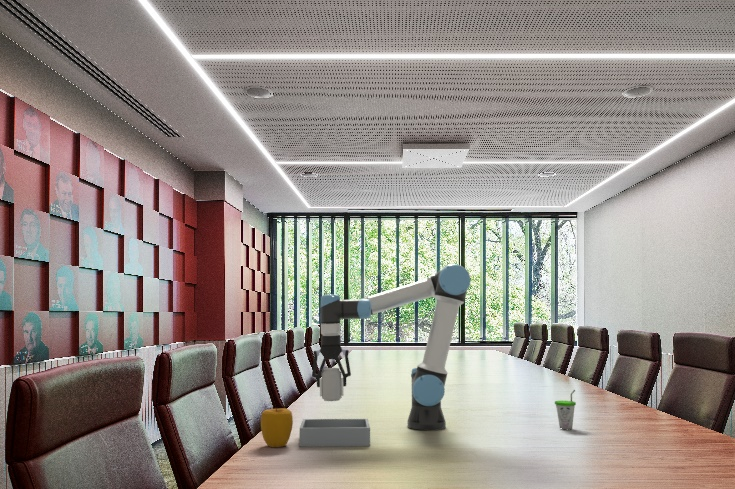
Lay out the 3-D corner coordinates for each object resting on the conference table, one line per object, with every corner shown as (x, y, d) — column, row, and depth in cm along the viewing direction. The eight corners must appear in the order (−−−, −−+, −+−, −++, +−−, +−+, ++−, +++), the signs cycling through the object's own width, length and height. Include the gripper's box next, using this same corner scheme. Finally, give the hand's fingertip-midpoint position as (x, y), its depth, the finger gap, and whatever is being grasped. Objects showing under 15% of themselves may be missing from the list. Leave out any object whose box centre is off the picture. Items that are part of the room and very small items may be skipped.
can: (339, 401, 230) (338, 369, 231) (319, 401, 231) (319, 369, 233) (343, 398, 237) (343, 367, 238) (325, 398, 238) (324, 367, 240)
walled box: (367, 435, 227) (367, 418, 228) (370, 445, 210) (370, 427, 210) (302, 435, 226) (302, 419, 227) (299, 446, 209) (299, 428, 209)
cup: (554, 429, 238) (553, 390, 240) (556, 426, 246) (555, 388, 247) (575, 431, 236) (574, 391, 237) (577, 427, 243) (575, 389, 244)
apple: (280, 441, 217) (280, 403, 219) (299, 445, 210) (299, 407, 211) (253, 445, 210) (254, 407, 211) (272, 450, 202) (273, 410, 203)
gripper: (356, 333, 241) (358, 393, 238) (304, 335, 240) (305, 395, 238) (357, 334, 234) (358, 396, 231) (303, 335, 233) (304, 397, 230)
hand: (331, 395), depth 234 cm, fingers closed on can, 7 cm apart
